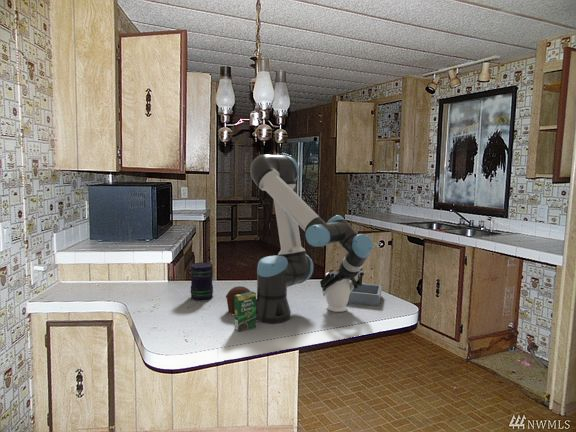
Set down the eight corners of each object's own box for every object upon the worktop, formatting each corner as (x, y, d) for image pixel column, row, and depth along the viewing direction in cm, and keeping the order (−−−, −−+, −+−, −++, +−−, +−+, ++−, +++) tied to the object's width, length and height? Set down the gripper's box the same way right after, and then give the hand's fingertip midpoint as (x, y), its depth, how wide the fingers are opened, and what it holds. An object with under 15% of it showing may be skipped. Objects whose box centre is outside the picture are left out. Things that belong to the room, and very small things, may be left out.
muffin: (223, 308, 171) (223, 284, 169) (248, 305, 175) (249, 282, 173) (229, 318, 160) (229, 293, 158) (257, 315, 164) (257, 290, 162)
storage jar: (200, 302, 177) (200, 268, 175) (185, 297, 183) (185, 265, 181) (217, 297, 185) (217, 264, 183) (203, 292, 191) (203, 261, 189)
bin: (341, 302, 182) (342, 291, 181) (347, 292, 197) (347, 282, 197) (378, 306, 177) (379, 295, 177) (381, 295, 193) (381, 285, 192)
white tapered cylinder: (350, 313, 168) (352, 277, 166) (325, 312, 168) (326, 277, 166) (347, 305, 178) (349, 271, 176) (323, 304, 178) (324, 270, 177)
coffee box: (237, 332, 146) (237, 296, 144) (233, 329, 148) (233, 294, 146) (256, 327, 151) (257, 292, 149) (252, 325, 153) (252, 290, 151)
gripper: (325, 274, 152) (311, 301, 169) (381, 272, 158) (363, 299, 174) (321, 257, 157) (308, 285, 174) (376, 255, 162) (358, 283, 179)
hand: (335, 292), depth 174 cm, fingers closed on white tapered cylinder, 10 cm apart
